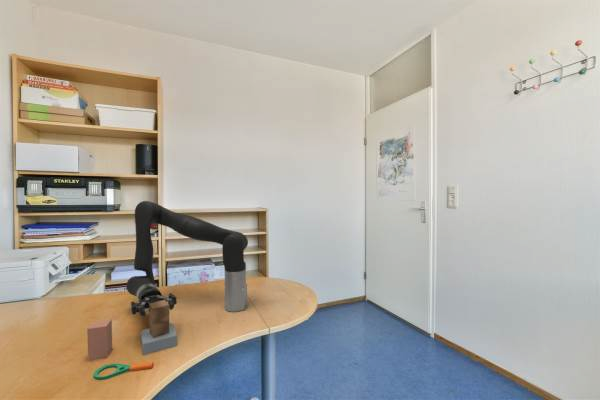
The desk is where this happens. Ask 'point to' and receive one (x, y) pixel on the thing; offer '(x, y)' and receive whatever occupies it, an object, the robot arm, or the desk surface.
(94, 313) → the desk surface
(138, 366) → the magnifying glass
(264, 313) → the desk surface
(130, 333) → the desk surface
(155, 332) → the walnut block
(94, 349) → the brick-red block
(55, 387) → the desk surface
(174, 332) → the slate base block
